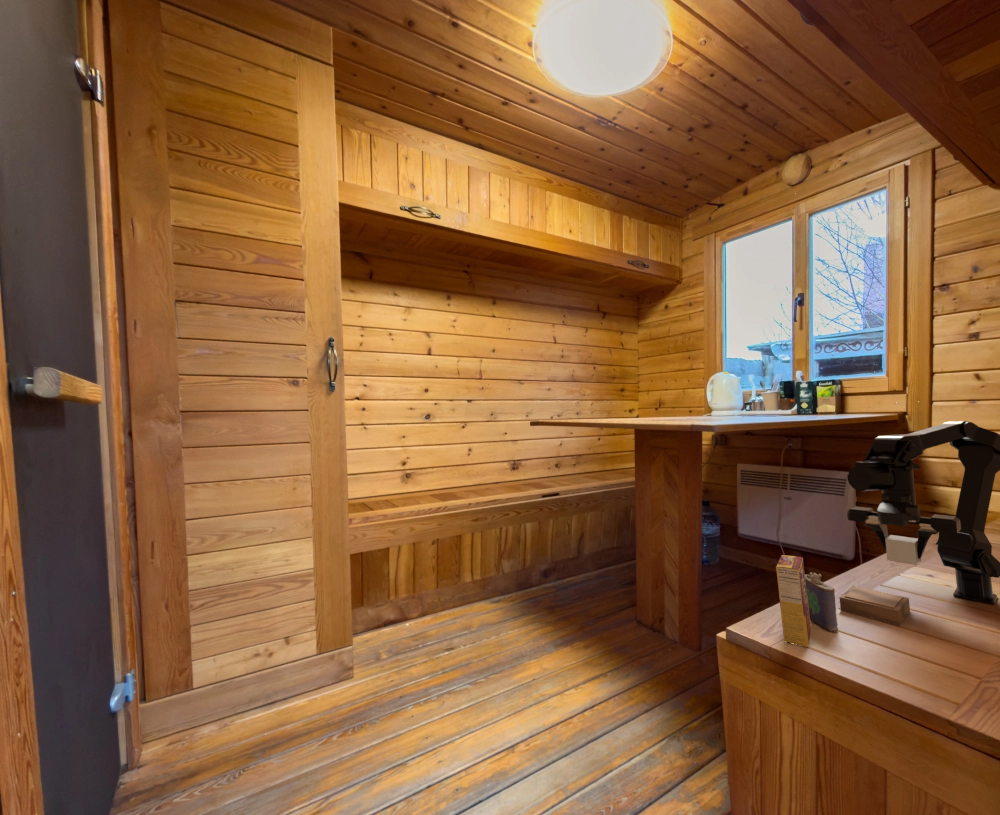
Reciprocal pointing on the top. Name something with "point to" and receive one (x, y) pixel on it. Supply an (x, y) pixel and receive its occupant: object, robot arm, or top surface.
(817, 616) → the flask
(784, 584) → the candy box
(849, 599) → the walnut plinth
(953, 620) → the top surface
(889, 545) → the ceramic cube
